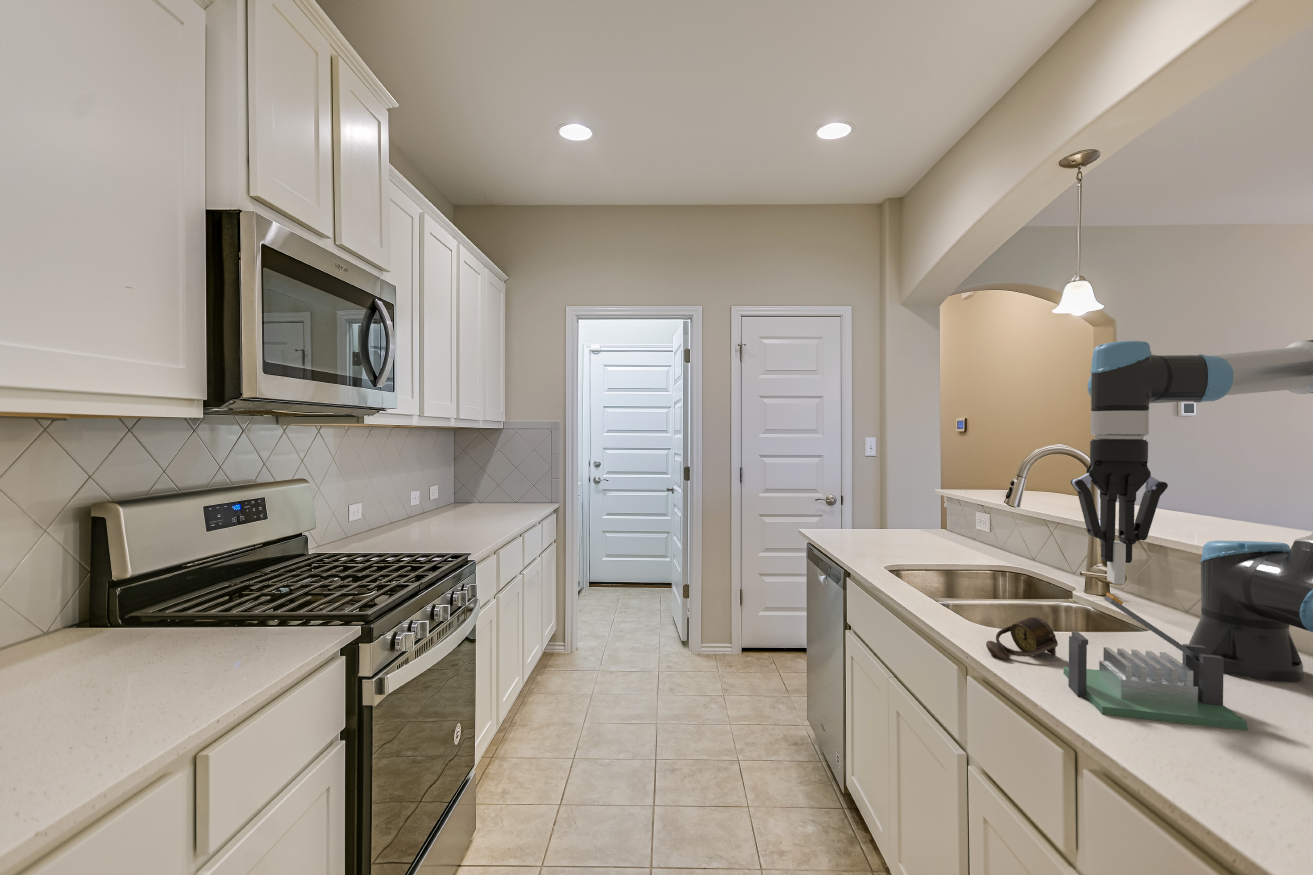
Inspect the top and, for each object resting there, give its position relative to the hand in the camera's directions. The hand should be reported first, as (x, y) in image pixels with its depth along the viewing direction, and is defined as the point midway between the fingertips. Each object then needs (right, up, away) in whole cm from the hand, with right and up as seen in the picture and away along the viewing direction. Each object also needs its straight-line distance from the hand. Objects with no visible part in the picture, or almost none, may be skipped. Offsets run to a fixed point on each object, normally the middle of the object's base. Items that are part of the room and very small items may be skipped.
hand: (1115, 581), depth 98 cm
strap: (+5, -8, -1) cm, 9 cm away
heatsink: (+4, -18, -1) cm, 18 cm away
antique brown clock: (-4, -19, +19) cm, 27 cm away
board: (+4, -19, -1) cm, 19 cm away
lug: (-5, -19, +2) cm, 20 cm away
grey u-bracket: (+11, -18, -3) cm, 21 cm away
